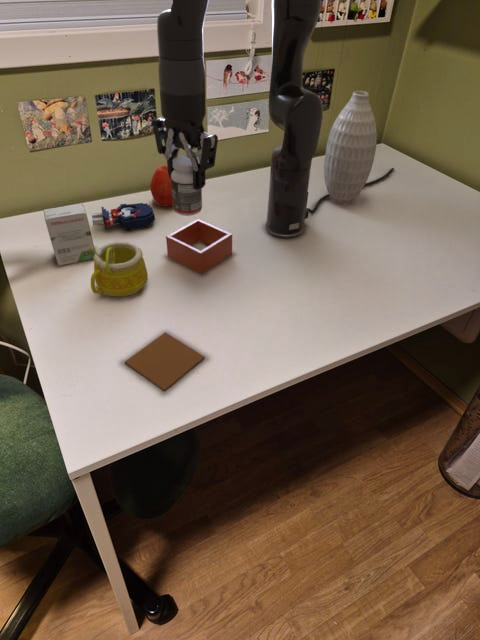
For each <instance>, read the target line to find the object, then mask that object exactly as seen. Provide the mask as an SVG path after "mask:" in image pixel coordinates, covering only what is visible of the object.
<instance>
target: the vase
mask: <svg viewBox="0 0 480 640" xmlns="http://www.w3.org/2000/svg"><path fill="white" fill-rule="evenodd" d="M377 141H378V131H377V122H376V117H375V114H374V112H373V108H372V106H371V104H370V94H369V92H367V91H365V90H355V91H353V92H352V95H351V98H350V99H349V101H347V103H346V104H345V106H344V107H343V108H342V110H341V111H340V112H339V113H338V115H337V117H336V118H335V120H334V122H333V125H332V127H331V129H330V130H329V135H328V138H327V142H326V148H325V153H324V163H323V178H324V185H325V187H326V192H327V195H328V194H329V196H330V197H329V198H330V200H331V202H333V204H337V205H350V204H352V203H353V201H355V199H356V198H357V197H358V196H359V195H360V193H361V192H362V191H363V189H364V185H365V184H366V183H367V181H368V180H369V176H370V174H371V172H372V168H373V164H374V162H375V161H374V160H375V156H376V155H375V154H376V150H377V144H378V143H377Z"/></svg>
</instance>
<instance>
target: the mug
mask: <svg viewBox="0 0 480 640" xmlns="http://www.w3.org/2000/svg"><path fill="white" fill-rule="evenodd" d="M94 248H95V247H94ZM94 248H92V247H91V248H90V251H92V252H94V253H95V254H94V256H93V259H92V260H93V264H94V265H93V273H92V274H91V277H90V288H91V291H92V292H93V293H94V295H95V294H96V295H99V294H101V295H103V294H105V295H107V296H109V297H127V296H131V295H134V294H136V293H139V292H140V291H141V290H142V289H143V288H144V287H145V286H146V284H147V281H148V269H147V267H146V266H147V265H146V262H145V259H144V257H143V256H144V255H143V250H142V249H141V248H140V247H139V246H138V245H136V244H134V243H131V242H128V241H127V242H126V241H114V242H110V243H107V244H103V245H102V246H100V247H99V248H98V249H97V250H95V251H94ZM97 288H98V289H97Z"/></svg>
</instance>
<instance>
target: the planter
mask: <svg viewBox="0 0 480 640" xmlns="http://www.w3.org/2000/svg"><path fill="white" fill-rule="evenodd" d="M165 241H166V251H167V257H168V259H170V260H173V261H175V262H177V263H179V264H181V265H183V266H184V267H186V268H188V269H190V270H192V271H194V272H196V273H198V274H200V275H203V274H205V273H206V272H207V271H209V270H211V269H212V268H214V267H215V266H216V265H218V264H220V263H222V262H223V261H224V260H226V259H227V258H229V257H230V256H232V255H233V233H231V232H229V231H226V230H224V229H222V228H220V227H217V226H215V225H213V224H211V223H208V222H206V221H204V220H203V219H199V218H196V219H195V220H193V221H191V222H189V223H188V224H186V225H184V226H182V227H180V228H178V229H176V230H175V231H173V232H171V233H169V234H167V235H166V236H165ZM198 242H200V243H202V244H204V245H206V247H204V248H203V249H201V250H200V249H198V248H195V247H193V245H195V244H197V243H198Z"/></svg>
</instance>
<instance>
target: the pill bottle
mask: <svg viewBox="0 0 480 640" xmlns="http://www.w3.org/2000/svg"><path fill="white" fill-rule="evenodd" d="M197 161H198V162H199V158H197ZM173 168H174V169H175V170H173V172H172V173H171V187H172V203H173V204H172V210H173V211H174V212H175V214H177V215H180V216H187V217H189V216H195V215H197V214H199V213H200V212H201V211H202V209H203V188H201V189H199V190H195V189H194V188H193V170H194V169H193V166H192V163H191V160H190V159H188V158H187V155H185V154H184V155H178V156H177V157H175V158H174V159H173Z"/></svg>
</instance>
